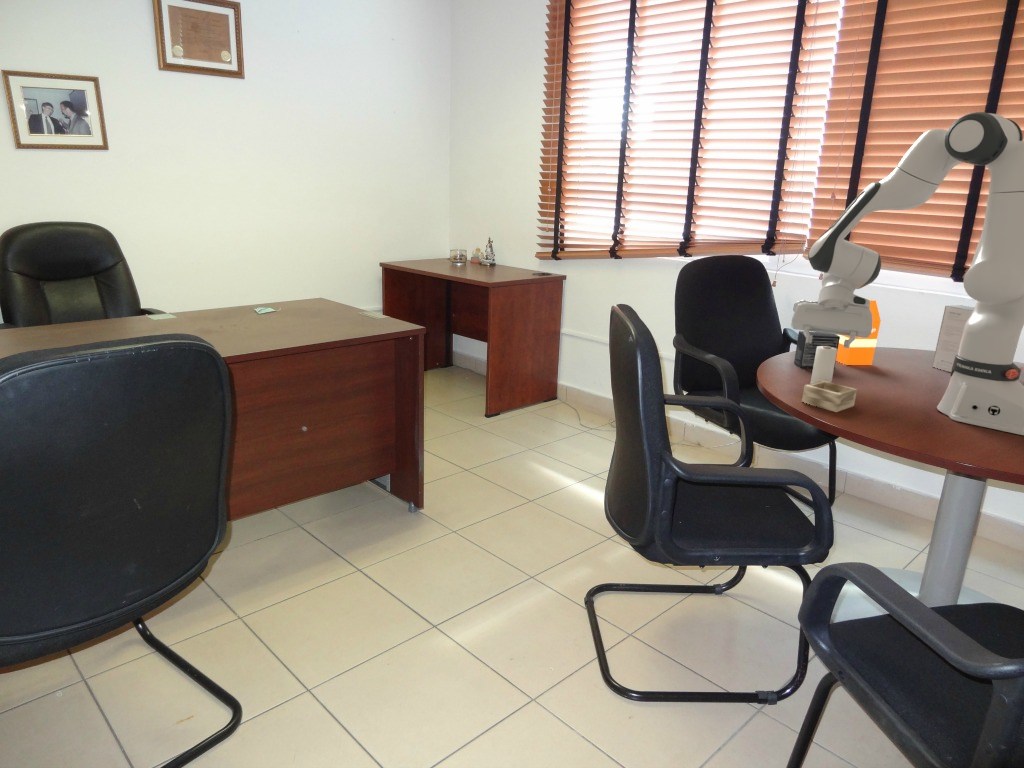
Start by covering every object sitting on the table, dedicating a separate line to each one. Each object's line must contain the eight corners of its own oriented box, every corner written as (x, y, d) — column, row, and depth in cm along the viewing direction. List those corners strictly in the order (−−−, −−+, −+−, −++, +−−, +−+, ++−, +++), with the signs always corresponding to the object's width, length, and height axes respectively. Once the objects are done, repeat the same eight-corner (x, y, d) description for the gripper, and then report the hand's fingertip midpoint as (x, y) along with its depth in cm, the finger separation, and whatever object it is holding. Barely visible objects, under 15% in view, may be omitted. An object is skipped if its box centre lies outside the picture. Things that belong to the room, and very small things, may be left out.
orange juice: (831, 359, 213) (842, 298, 207) (855, 359, 215) (867, 298, 209) (846, 365, 206) (859, 302, 200) (872, 365, 207) (885, 302, 201)
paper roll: (832, 392, 177) (841, 347, 173) (823, 395, 174) (831, 349, 170) (815, 387, 181) (822, 343, 177) (805, 390, 178) (813, 345, 174)
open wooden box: (853, 406, 166) (857, 389, 165) (836, 412, 161) (839, 394, 159) (819, 396, 173) (822, 380, 172) (801, 402, 168) (804, 385, 166)
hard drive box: (996, 379, 197) (1013, 313, 191) (979, 380, 194) (996, 314, 189) (946, 365, 211) (961, 304, 205) (930, 367, 208) (944, 304, 202)
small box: (827, 364, 206) (833, 332, 203) (835, 370, 200) (841, 336, 197) (792, 362, 207) (798, 330, 204) (799, 368, 201) (805, 334, 198)
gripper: (795, 293, 187) (787, 332, 181) (876, 301, 178) (870, 343, 173) (794, 306, 192) (786, 345, 186) (873, 314, 183) (866, 356, 178)
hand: (827, 344), depth 179 cm, fingers open, 8 cm apart
